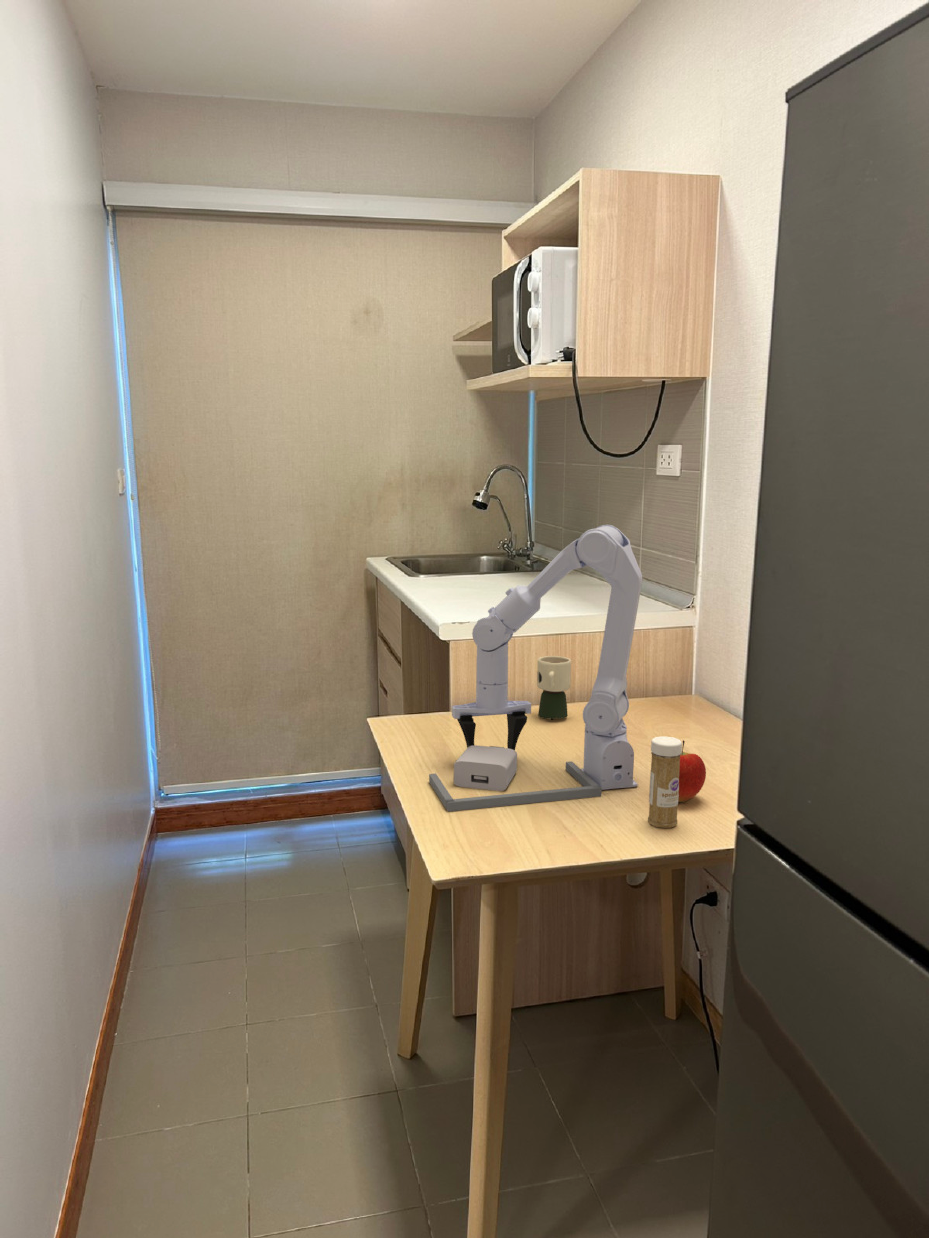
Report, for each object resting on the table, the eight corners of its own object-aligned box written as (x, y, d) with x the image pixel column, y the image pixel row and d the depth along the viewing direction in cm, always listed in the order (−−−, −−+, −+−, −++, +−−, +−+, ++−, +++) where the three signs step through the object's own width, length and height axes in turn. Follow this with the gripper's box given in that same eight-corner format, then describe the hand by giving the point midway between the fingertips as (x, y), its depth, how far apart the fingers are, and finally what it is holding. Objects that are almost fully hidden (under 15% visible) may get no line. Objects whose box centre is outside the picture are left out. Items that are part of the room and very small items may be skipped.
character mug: (540, 709, 198) (541, 652, 195) (572, 712, 196) (574, 654, 194) (532, 724, 187) (533, 664, 185) (566, 726, 186) (568, 666, 183)
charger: (523, 763, 165) (506, 792, 150) (475, 758, 167) (453, 786, 153) (524, 738, 164) (506, 765, 149) (475, 734, 166) (453, 760, 152)
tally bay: (601, 796, 149) (601, 787, 148) (447, 811, 142) (447, 802, 141) (571, 769, 161) (571, 761, 161) (429, 782, 154) (429, 773, 154)
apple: (644, 800, 147) (646, 742, 145) (667, 786, 153) (670, 730, 151) (689, 813, 142) (692, 753, 140) (711, 798, 148) (715, 741, 146)
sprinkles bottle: (668, 831, 135) (673, 746, 132) (642, 823, 138) (645, 740, 135) (682, 822, 138) (687, 739, 136) (656, 814, 141) (660, 733, 139)
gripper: (523, 673, 167) (521, 743, 169) (447, 678, 163) (447, 748, 166) (535, 683, 160) (534, 755, 163) (457, 687, 156) (457, 761, 159)
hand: (491, 752), depth 164 cm, fingers open, 7 cm apart
